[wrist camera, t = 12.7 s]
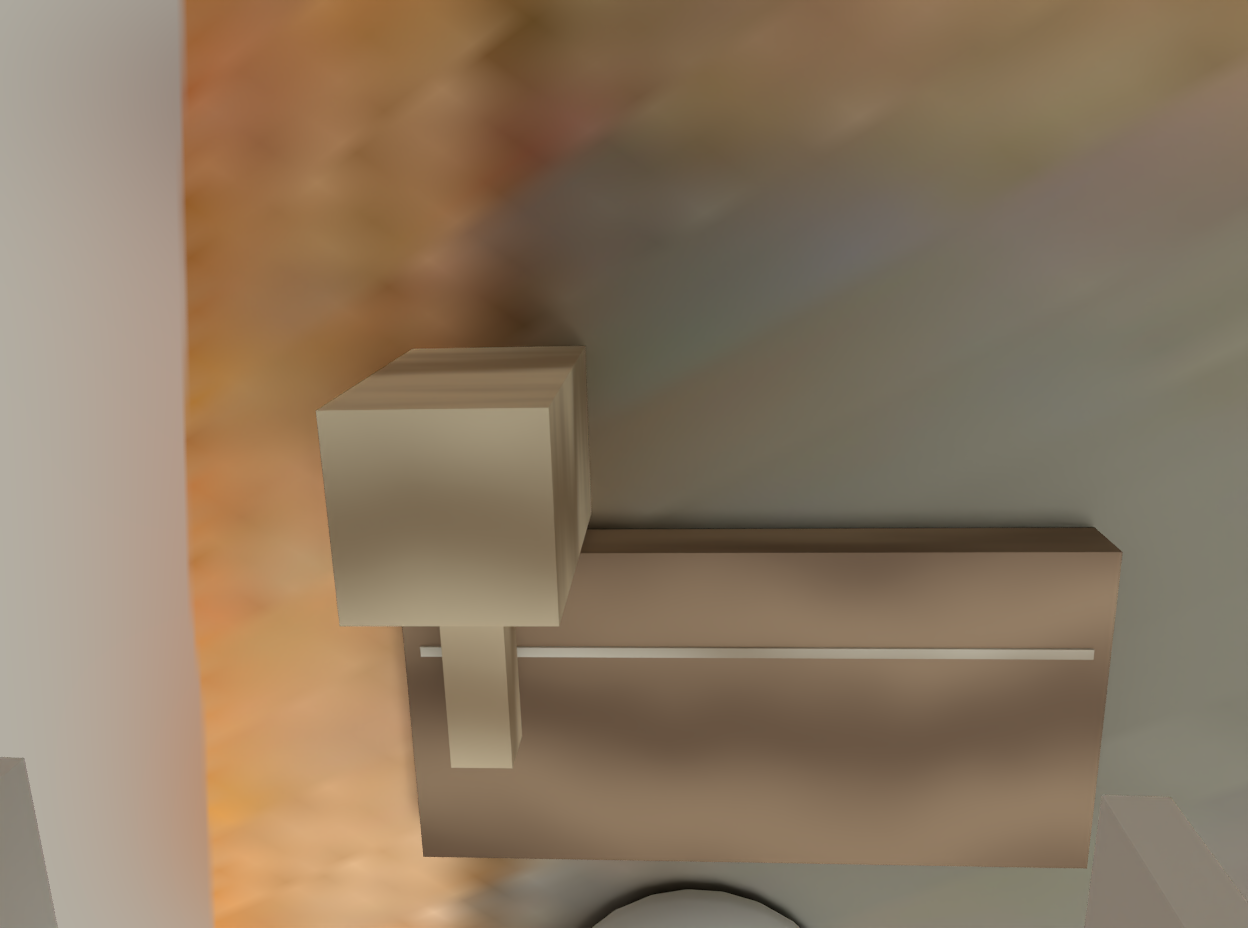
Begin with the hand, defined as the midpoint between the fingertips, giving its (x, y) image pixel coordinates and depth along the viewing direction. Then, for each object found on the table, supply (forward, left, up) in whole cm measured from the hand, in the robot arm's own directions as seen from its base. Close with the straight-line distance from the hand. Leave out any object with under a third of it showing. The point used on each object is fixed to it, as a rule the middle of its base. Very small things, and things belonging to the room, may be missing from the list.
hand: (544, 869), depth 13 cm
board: (+7, +3, -18) cm, 20 cm away
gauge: (+2, -4, -18) cm, 19 cm away
